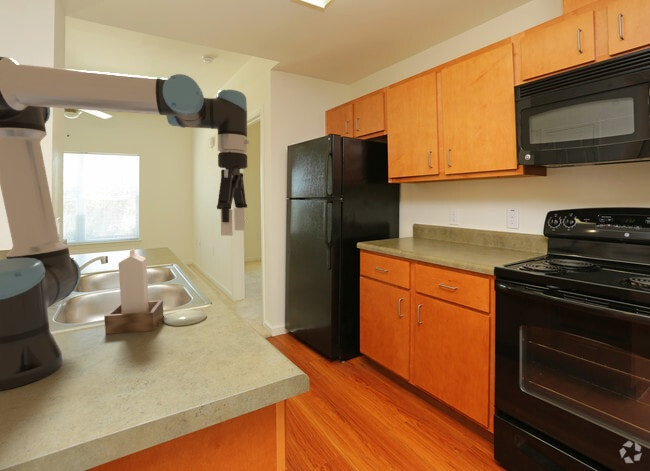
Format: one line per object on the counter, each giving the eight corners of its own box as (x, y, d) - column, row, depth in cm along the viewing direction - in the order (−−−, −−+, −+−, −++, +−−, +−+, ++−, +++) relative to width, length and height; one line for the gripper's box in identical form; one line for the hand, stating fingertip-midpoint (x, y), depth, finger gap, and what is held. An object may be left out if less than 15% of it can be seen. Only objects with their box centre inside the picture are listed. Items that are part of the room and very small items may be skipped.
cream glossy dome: (159, 327, 98) (159, 325, 98) (168, 313, 110) (168, 311, 110) (203, 324, 101) (203, 322, 101) (208, 310, 113) (208, 309, 113)
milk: (122, 329, 97) (116, 251, 94) (127, 322, 103) (122, 248, 100) (146, 326, 99) (141, 250, 96) (150, 319, 105) (145, 247, 102)
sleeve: (105, 333, 94) (104, 316, 93) (120, 318, 105) (119, 302, 105) (153, 330, 96) (152, 312, 96) (163, 315, 108) (162, 300, 107)
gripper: (235, 146, 80) (236, 238, 82) (255, 158, 104) (256, 228, 107) (202, 145, 80) (204, 237, 82) (230, 158, 104) (231, 228, 107)
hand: (233, 232), depth 94 cm, fingers open, 13 cm apart
